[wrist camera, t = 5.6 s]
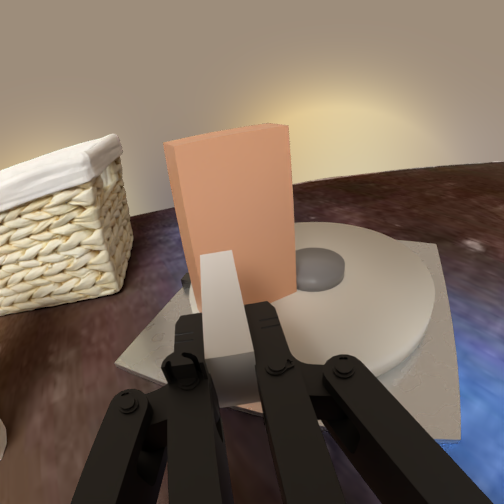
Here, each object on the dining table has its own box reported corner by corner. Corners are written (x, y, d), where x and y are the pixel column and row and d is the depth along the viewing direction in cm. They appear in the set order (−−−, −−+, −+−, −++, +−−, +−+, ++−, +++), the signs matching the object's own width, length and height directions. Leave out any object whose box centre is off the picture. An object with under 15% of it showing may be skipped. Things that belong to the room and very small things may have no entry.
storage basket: (-35, 328, 26) (-85, 218, 19) (9, 263, 40) (-21, 176, 33) (131, 302, 30) (88, 151, 23) (144, 233, 44) (121, 130, 37)
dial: (327, 223, 39) (324, 106, 32) (470, 302, 23) (503, 136, 16) (166, 279, 31) (133, 136, 24) (273, 445, 15) (243, 183, 8)
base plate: (435, 248, 32) (437, 236, 32) (457, 443, 13) (466, 432, 13) (239, 229, 41) (238, 219, 40) (116, 367, 22) (109, 354, 21)
